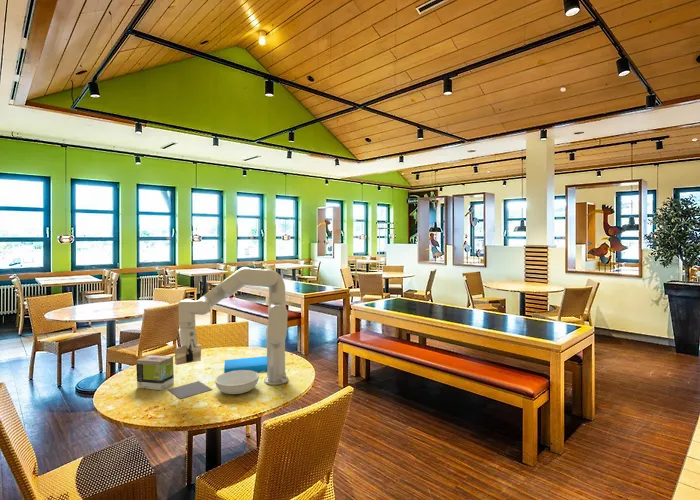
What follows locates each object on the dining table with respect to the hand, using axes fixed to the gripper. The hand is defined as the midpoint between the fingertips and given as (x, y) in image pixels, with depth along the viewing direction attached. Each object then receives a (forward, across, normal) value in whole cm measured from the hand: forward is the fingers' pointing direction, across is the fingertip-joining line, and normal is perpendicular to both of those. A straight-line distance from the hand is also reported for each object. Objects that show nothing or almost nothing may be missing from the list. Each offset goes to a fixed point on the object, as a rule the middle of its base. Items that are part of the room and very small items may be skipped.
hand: (188, 360), depth 203 cm
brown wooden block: (+1, 0, 0) cm, 1 cm away
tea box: (+15, +18, +10) cm, 26 cm away
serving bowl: (+15, -18, -17) cm, 29 cm away
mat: (+15, -1, 0) cm, 15 cm away
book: (+16, +8, -37) cm, 41 cm away
